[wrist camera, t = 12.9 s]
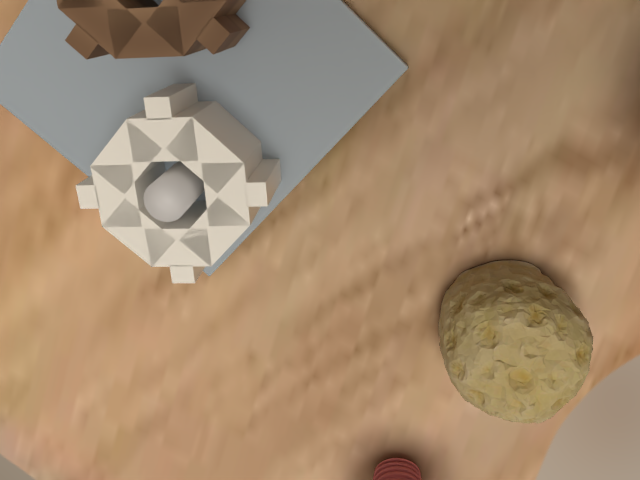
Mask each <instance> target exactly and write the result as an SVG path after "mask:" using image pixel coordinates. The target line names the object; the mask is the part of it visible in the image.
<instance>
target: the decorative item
mask: <svg viewBox="0 0 640 480" xmlns="http://www.w3.org/2000/svg"><path fill="white" fill-rule="evenodd" d="M438 327H439V337H440V343H439V346H440V349H441V353H442V356H443V359H444V364H445V367H446V370H447V372H448V375H449V377H450V379H451V382H452V383H453V385H454V386H455V387H456V389H457V390H458V392H459V393H460V394H461V396H462V397H463V398H464V399H465V401H467V402H470V403H471V404H472V405H474V406H475V407H477V408H479V409H481V411H484V412H485V413H487V414H488V415H490V416H496V417H499V418H501V419H504V420H507V421H511V422H519V423H527V424H529V423H533V422H535V423H541V422H544V421H546V420H547V419H550V418H551V417H553V416H554V415H555V414H556V412H557V411H559V410H560V409H561V408H562V407H563V406H564V405H565V404H566V403H568V402H569V400H571V399H572V398H573V397H574V396H576V394H577V393H578V391H579V389H580V388H581V386H582V385H583V383H584V380H585V379H586V376H587V374H588V372H589V366H590V360H591V353H592V350H593V347H592V344H593V336H592V333H591V330H590V328H589V322H588V321H587V320H586V318H585V317H584V316H583V314H582V313H581V311H580V310H579V308H577V307H576V306H575V304H574V303H573V302H572V300H571V299H570V298H569V296H568V295H567V294H566V293H565V292H564V291H563V290H562V288H559V287H557V286H555V285H554V283H553V282H552V281H551V279H550V278H549V277H548V276H545V275H543V274H541V272H540V270H539V269H538V268H537V267H535V266H534V265H532V264H530V263H527V262H522V261H514V260H508V261H503V260H502V261H494V262H490V263H487V264H484V265H481V266H477V267H475V268H472V269H469V270H466V271H464V272H463V273H461V274H460V275H459V276H458V277H457V279H456V280H455V282H454V283H453V284H452V285H451V286H450V288H449V289H448V290H447V291H446V293H445V295H444V298H443V301H442V304H441V312H440V320H439V326H438Z"/></svg>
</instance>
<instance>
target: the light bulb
mask: <svg viewBox="0 0 640 480" xmlns="http://www.w3.org/2000/svg"><path fill="white" fill-rule="evenodd" d="M373 480H421V472H420V470H419V468H418V467H417V466H416V464H414V463H413V462H411V461H409V460H407V459H402V458H390V459H386V460H384V461H382V462H381V463H379V464H378V465H377V467H376V468H375V472H374V476H373Z"/></svg>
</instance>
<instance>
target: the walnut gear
mask: <svg viewBox="0 0 640 480" xmlns="http://www.w3.org/2000/svg"><path fill="white" fill-rule="evenodd" d="M56 1H57V6H58V9H59V10H61V11H62V12H63V13H64V14H65V15H66V16H67V17H69V18H70V19H71V20H72V21H73V22H74V23H75V24H76V25H75V26H74V28H73V29H72V31H71V32H70V34H69V35H68V36H67V38H66V39H65V41H66V42H67V43H68V44H69V45H70V46H71V47H73V48H74V49H75V50H76V51H77V52H78V53H79V54H81V55H82V56H83V57H84V58H85V59H86V60H87V59H92V58H96V57H100V56H104V55H108V54H110V55H112V56H113V57H114V58H115V59H126V58H151V57H177V56H183V57H184V56H187V55H189V54H192V53H195V52H198V51H201V50H204V49H208V50H209V51H210V52H211V53H212V54H213V55H214V54H216V53H219V52H222V51H224V50H227V49H229V48H232V47H234V46H236V45H237V43H238V42H239V41H240V40H241V38H242V37H243V36H244V35H245V33H246V32H247V31H248V30H249V29H250V27H249V26H248V25H247V24H246V23H245V22H244V21H243V20H242V19H241V18H240V17H238V16H237V15H236V13H237V12H238V10H239V9H240V8H241V7H242V5H243V4H244V3H245V2H246V0H163V1H162V2H161V3H160V5H158V4H157V3H156V2H155V1H154V0H56Z"/></svg>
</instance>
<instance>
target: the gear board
mask: <svg viewBox="0 0 640 480" xmlns="http://www.w3.org/2000/svg"><path fill="white" fill-rule="evenodd" d="M154 1H155V2H156V3H157V4H158V5H160V3H161V2H162V1H163V0H154ZM236 15H237V16H238V17H240V18H241V19H242V20H243V21H244V22H245V23H246V24H247V25H248V26H249V27H250V29H249V30H248V31H247V32H246V33H245V35H244V36H243V37H242V38H241V40H240V41H239V42H238V43H237V45H236V46H234V47H232V48H229V49H227V50H224V51H222V52H219V53H216V54H214V55H213V54H212V53H211V52H210V51H209V50H208V49H204V50H201V51H198V52H195V53H192V54H189V55H187V56H184V57H183V56H177V57H151V58H126V59H115V58H114V57H113V56H112V55H110V54H108V55H104V56H100V57H96V58H92V59H87V60H86V59H85V58H84V57H83V56H82V55H81V54H79V53H78V52H77V51H76V50H75V49H74V48H73V47H71V46H70V45H69V44H68V43H67V42H66V41H65V39H66V38H67V36H68V35H69V34H70V32H71V31H72V29H73V28H74V26H75V25H76V24H75V23H74V22H73V21H72V20H71V19H70V18H69V17H67V16H66V15H65V14H64V13H63V12H62V11H61V10H59V9H58V6H57V1H56V0H28V2H27V3H26V5H25V7H24V8H23V10H22V11H21V13H20V14H19V16H18V18H17V19H16V21H15V22H14V24H13V25H12V27H11V29H10V30H9V32H8V33H7V35H6V37H5V38H4V40H3V41H2V43H1V44H0V104H1V105H2V106H4V107H5V108H6V109H7V110H8V111H10V112H11V113H12V114H13V115H15V116H16V117H17V118H18V119H19V120H21V121H22V122H23V123H24V124H25V125H27V126H28V127H29V128H30V129H31V130H33V131H34V132H35V133H36V134H38V135H39V136H40V137H41V138H42V139H44V140H45V141H46V142H47V143H48V144H50V145H51V146H52V147H53V148H55V149H56V150H57V151H58V152H59V153H61V154H62V155H63V156H64V157H65V158H67V159H68V160H69V161H70V162H71V163H73V164H74V165H75V166H76V167H78V168H79V169H80V170H81V171H82V172H84V173H85V174H86V175H87V176H88V177H90V176H91V175H92V172H91V167H90V165H91V164H92V163H93V162H94V161H95V159H96V158H97V157H98V155H99V154H100V153H101V151H102V150H103V149H104V148H105V146H106V145H107V144H108V142H109V141H110V140H111V138H112V137H113V136H114V135H115V133H116V132H117V131H118V129H119V128H120V127H121V125H122V124H123V123H124V122H125V120H126V119H127V118H129V117H131V116H133V115H135V114H137V113H139V112H141V111H143V110H145V105H144V97H146V96H148V95H150V94H152V93H155V92H157V91H159V90H161V89H163V88H165V87H168V86H170V85H172V84H184V83H196V89H197V97H198V101H217V102H218V103H219V104H220V105H221V106H222V107H223V108H224V109H226V110H227V111H228V112H229V113H230V114H231V115H232V116H233V117H234V118H235V119H237V120H238V121H239V122H240V123H241V124H242V125H243V126H244V127H245V128H247V129H248V130H249V131H250V132H251V133H252V134H253V135H254V136H255V137H257V138H258V139H259V140H260V141H261V147H262V158H263V159H280V168H281V182H280V184H279V186H278V188H277V190H276V191H275V193H274V195H273V197H272V199H271V201H270V203H269V205H268V206H261V207H260V209H259V211H258V213H257V214H256V216H255V218H254V220H253V222H252V223H251V225H250V226H249V227H248V228H247V229H246V230H245V231H244V232H243V233H242V234H241V236H240V237H239V238H238V239H237V240H236V241H235V242H234V243H233V244H232V245H231V246H230V247H229V248H228V249H227V250H226V251H225V252H224V253H223V255H222V256H221V257H220V258H219V259H218V260H217V261H216V262H215V263H214V264H213V265H212V266H206V267H205V268H204V270H203V271H204V272H205V273H206V274H207V275H208V276H210V275H211V274H212V273H213V272H214V271H215V270H216V269H217V268H218V267H219V266H220V265H221V264H222V263H223V262H224V261H225V260H226V259H227V258H228V256H229V255H230V254H231V253H232V252H233V251H234V250H235V249H236V248H237V247H238V246H239V245H240V244H241V243H242V242H243V241H244V240H245V239H246V238H247V237H248V236H249V234H250V233H251V232H252V231H253V230H254V229H255V228H256V227H257V226H258V225H259V224H260V223H261V222H262V221H263V220H264V219H265V218H266V217H267V216H268V215H269V214H270V212H271V211H272V210H273V209H274V208H275V207H276V206H277V205H278V204H279V203H280V202H281V201H282V200H283V199H284V198H285V197H286V196H287V195H288V194H289V193H290V192H291V190H292V189H293V188H294V187H295V186H296V185H297V184H298V183H299V182H300V181H301V180H302V179H303V178H304V177H305V176H306V175H307V174H308V173H309V172H310V171H311V170H312V168H313V167H314V166H315V165H316V164H317V163H318V162H319V161H320V160H321V159H322V158H323V157H324V156H325V155H326V154H327V153H328V152H329V151H330V150H331V149H332V148H333V146H334V145H335V144H336V143H337V142H338V141H339V140H340V139H341V138H342V137H343V136H344V135H345V134H346V133H347V132H348V131H349V130H350V129H351V128H352V127H353V126H354V124H355V123H356V122H357V121H358V120H359V119H360V118H361V117H362V116H363V115H364V114H365V113H366V112H367V111H368V110H369V109H370V108H371V107H372V106H373V105H374V104H375V102H376V101H377V100H378V99H379V98H380V97H381V96H382V95H383V94H384V93H385V92H386V91H387V90H388V89H389V88H390V87H391V86H392V85H393V84H394V83H395V81H396V80H397V79H398V78H399V77H400V76H401V75H402V74H403V73H404V72H405V71H406V70H407V69H408V65H407V64H406V63H405V62H404V61H403V60H402V59H401V58H400V57H399V56H398V55H397V54H396V53H395V52H394V51H393V50H392V49H391V48H390V47H389V46H388V45H387V44H386V43H385V42H384V41H383V40H382V39H381V38H380V37H379V36H378V35H377V34H376V33H375V32H374V31H373V30H372V29H371V28H370V27H369V26H368V25H367V24H366V23H365V22H364V21H363V20H362V19H361V18H360V17H359V16H358V15H357V14H356V13H355V12H354V11H353V10H352V9H351V8H350V7H349V6H348V5H347V4H346V3H345V2H344V1H343V0H246V2H245V3H244V4H243V5H242V7H241V8H240V9H239V10H238V12H237V13H236ZM164 163H165V170H166V172H164V173H163V174H162V175H161V176H160V177H159V178H157V179H156V180H155V181H154V182H153V183H151V184H150V185H149V186H148V187H147V189H146V190H145V193H144V205H145V207H146V209H147V211H148V212H149V213H150V215H151V216H153V217H154V218H155V219H157V220H160V221H163V222H172V221H176V220H178V219H179V218H180V217H181V216H182V215H183V214H184V213H185V212H186V211H187V210H188V208H189V207H190V206H191V205H192V204H193V203H194V202H195V201H206V197H205V189H204V181H203V180H201V179H200V178H199V177H198V176H197V175H196V174H195V173H193V172H192V171H191V170H190V169H189V168H188V167H186V166H185V165H184V164H183V163H182V162H181V161H164Z"/></svg>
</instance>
